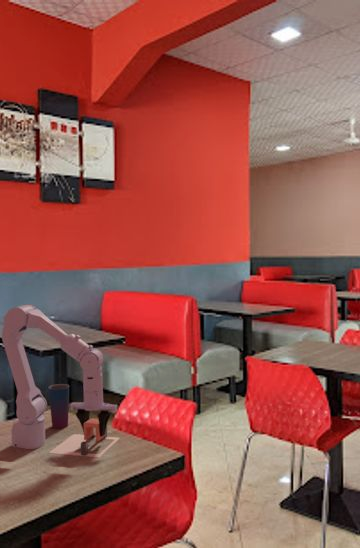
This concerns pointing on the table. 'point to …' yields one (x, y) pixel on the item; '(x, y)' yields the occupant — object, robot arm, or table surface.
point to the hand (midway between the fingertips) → (94, 434)
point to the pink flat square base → (80, 445)
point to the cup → (59, 405)
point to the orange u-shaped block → (92, 429)
